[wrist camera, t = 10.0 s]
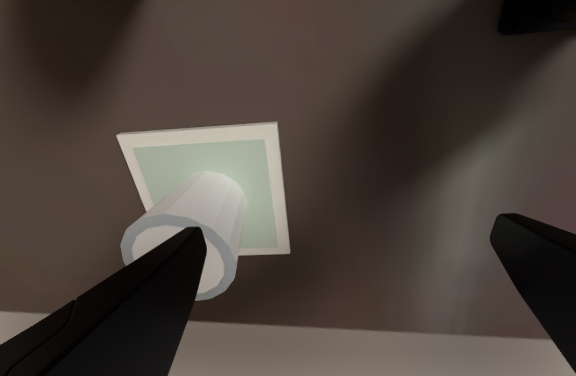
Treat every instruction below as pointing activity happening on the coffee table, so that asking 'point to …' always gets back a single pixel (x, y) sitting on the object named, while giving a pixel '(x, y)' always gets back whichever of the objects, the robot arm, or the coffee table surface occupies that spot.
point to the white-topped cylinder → (196, 212)
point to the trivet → (221, 159)
